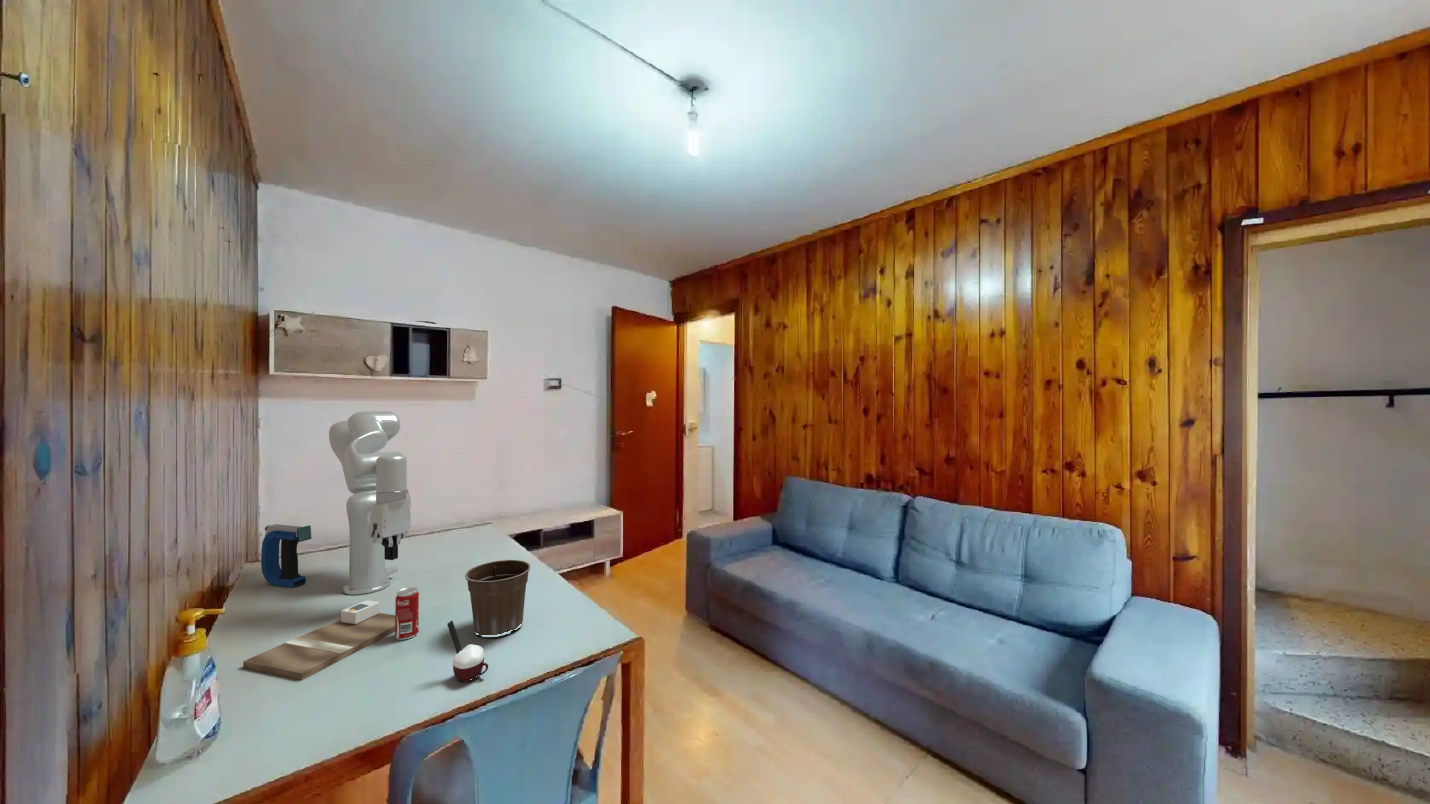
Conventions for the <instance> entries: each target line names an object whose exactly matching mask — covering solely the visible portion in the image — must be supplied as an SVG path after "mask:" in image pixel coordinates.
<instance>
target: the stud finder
mask: <svg viewBox="0 0 1430 804" xmlns="http://www.w3.org/2000/svg"><path fill="white" fill-rule="evenodd" d="M380 608H381V603H380V602H379V601H373V600H367V599H366V600H363V601H361V602H358V603H356V604H354V605H352V606H349V607H346V608H345V609H342V610H341V611H340V616H341V617H340V619H341V622H345V623H351V624H357V623H359V622H361V621H364V620H366V619H368V618H370V617H372V616H374V615H376V614H379V613H381V609H380Z"/></svg>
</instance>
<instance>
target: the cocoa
mask: <svg viewBox="0 0 1430 804" xmlns="http://www.w3.org/2000/svg"><path fill="white" fill-rule="evenodd" d="M447 628H448V631H449V634H450V636H451V640H452V643H453V646H454V649H455V650H454V651H455V652H456V653H455V655H454V657H453V659H452V671H453V674H454V677H455V678H456V680H457V681H459V680H461V681H460V682H463V681H467V680H470V679H473V678H475V677H476V676H478V675H481V676H482V675H484V674H485V673H486V672H487V671H488V669H489V664H488V663H487V662H485V655H484V648H483V647H482V646H480V645H479V644H478V645H476V644H471V643H470V644H468V645H466V646H465V647H463V648H462V645H461V642H460V638H459V636H458V633H457V630H456V626H455V624H454V621H453V620H449V622H447ZM484 666H485V669H484V671H483V667H484ZM478 677H479V676H478ZM475 679H476V678H475ZM473 680H474V679H473Z"/></svg>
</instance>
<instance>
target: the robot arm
mask: <svg viewBox="0 0 1430 804" xmlns="http://www.w3.org/2000/svg"><path fill="white" fill-rule="evenodd" d="M400 430H401V421H400V418H399V416H398V414H396V413H395V412H393V411H389V410H388V411H385V410H384V411H382V410H381V411H380V410H379V411H375V410H374V411H368V410H367V411H359V412H356V413H353V414H352V415H351V416H349V417H348V419H347V420H342V421H338V422H336V423H333V424H332V425H331V426H330V427H329V431H328V439H329V440H328V441H329V445H330V448H331V450H332V452H333V453H334V455H335V457H337V459H338V460H339V462H340V463H341V467H342V470H343V477H344V480H345V483H346V486H347V489H348V492H350V493H351V494H353V495H351V496H349V497H348V499H347V500H346V503H345V504H346V506H345V508H346V515H347V519H348V530H349V533H348V534H349V547H348V548H349V553H348V554H349V559H348V560H349V561H348V562H349V564H348V567H349V568H348V574H349V575H348V580H349V581H348V583H347V584H345V585H344V587H343V588H342V592H343V593H344V594H346V595H352V596H353V595H365V594H371V593H374V592H375V593H376V592H378V591H381V590H383V589H385V588H387V587H388V586H390V585H391V579H390V578H389V576H391V575H393V574H395V573H397V572H398V570H399V569H398V567H397V566H394V567H390V568H388V567H386V560H387V561H395V560H398V558H399V545H400V544H401V541H402V540H403V537H406V536H407V535H409V533H410V532H409V530H410V528H411V522H412V521H411V520H412V519H411V517H412V516H411V510H410V509H411V505H412V503H411V496H410V492H409V489H408V486H407V482H408V481H407V480H408V479H407V477H408V475H407V474H408V473H407V471H408V470H407V467H408V462H407V461H408V460H407V457H406V455H404V454H402V453H401V452H398V451H387V452H386V451H385V452H380V451H381V450H382V449H384V448H385V446H386V445H387V443H388V442H389V441H390V440H392V439H393V438H394V437H396V436H397V435H398V434H399V432H400Z"/></svg>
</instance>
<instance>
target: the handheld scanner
mask: <svg viewBox="0 0 1430 804" xmlns="http://www.w3.org/2000/svg"><path fill="white" fill-rule="evenodd" d="M264 531H265V535H264V538H263V540H262V544H261V553H260V555H261V556H260V559H261V561H260V562H261V563H260V565H261V572H262V576H263V578H264V580H265V581H266V582H267V583H268V584H269V585H272V586H274V585H277V586H276V587H282V586H284V588H285V587H286V588H290V589H291V588H293V587H294V588H296V586H297V587H299V586H301V584H302V585H305V584H306V582H307V577H306V575H305V576H304V575H301V574H300V572H299V557H298V544H299V543H301V542H305V541H309V540H312V526H311V525H305V526H296V525H286V524H278V523H277V524H270V525H266V526H265V528H264ZM298 585H299V586H298ZM294 588H293V589H294Z"/></svg>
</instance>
